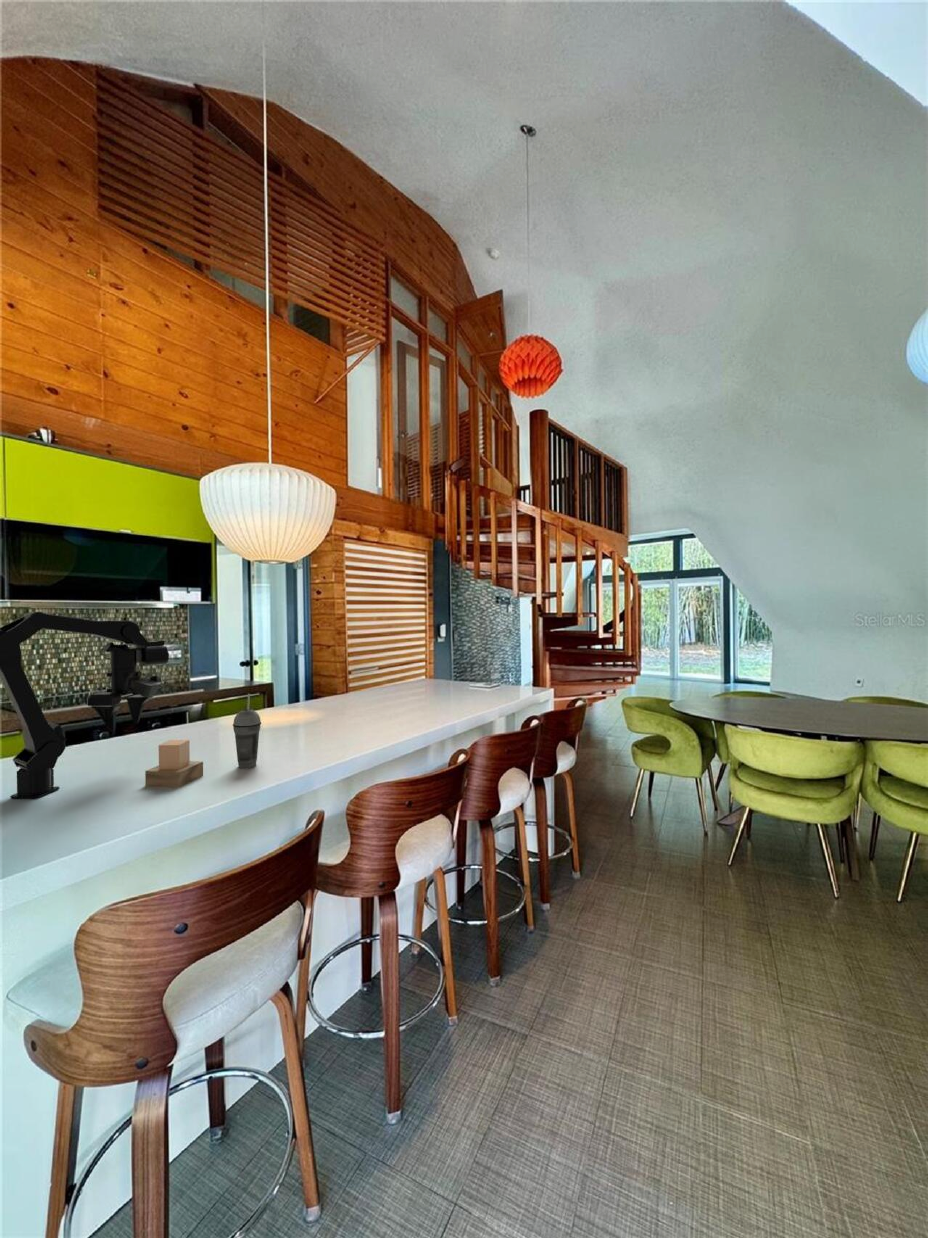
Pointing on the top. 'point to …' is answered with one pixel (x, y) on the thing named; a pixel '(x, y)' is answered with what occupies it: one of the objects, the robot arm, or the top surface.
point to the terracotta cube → (174, 754)
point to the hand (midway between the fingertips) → (124, 727)
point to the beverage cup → (247, 736)
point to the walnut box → (174, 775)
